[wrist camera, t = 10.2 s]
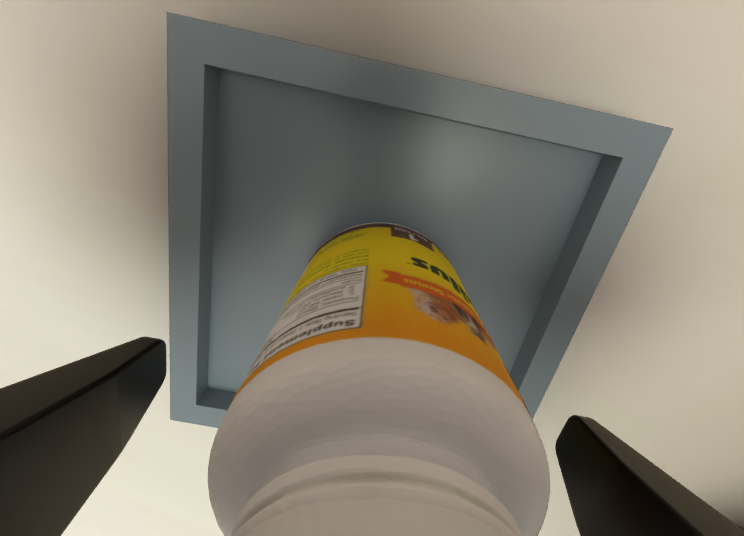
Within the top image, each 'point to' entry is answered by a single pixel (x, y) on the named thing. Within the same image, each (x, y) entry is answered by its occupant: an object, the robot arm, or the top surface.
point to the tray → (377, 196)
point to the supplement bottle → (378, 408)
